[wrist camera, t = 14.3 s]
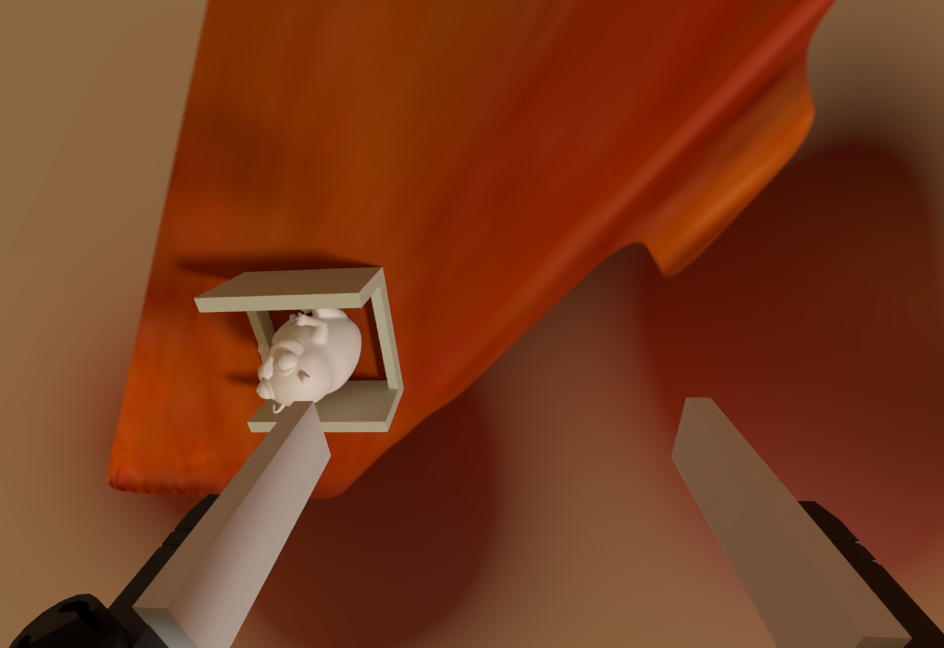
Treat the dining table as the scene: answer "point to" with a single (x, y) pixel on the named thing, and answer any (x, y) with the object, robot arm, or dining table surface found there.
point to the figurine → (309, 357)
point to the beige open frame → (319, 289)
